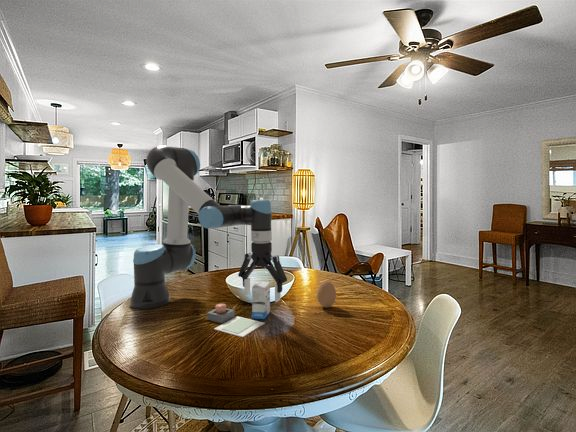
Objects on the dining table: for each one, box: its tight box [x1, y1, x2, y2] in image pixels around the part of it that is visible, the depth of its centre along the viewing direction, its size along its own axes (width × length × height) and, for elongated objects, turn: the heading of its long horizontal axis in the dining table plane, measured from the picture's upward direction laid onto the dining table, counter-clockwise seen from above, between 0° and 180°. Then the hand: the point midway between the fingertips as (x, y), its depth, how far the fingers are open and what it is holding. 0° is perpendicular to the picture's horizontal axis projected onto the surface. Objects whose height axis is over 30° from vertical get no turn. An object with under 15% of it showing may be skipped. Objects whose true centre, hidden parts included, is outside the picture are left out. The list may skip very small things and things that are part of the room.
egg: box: [316, 280, 337, 309], centre depth 132 cm, size 8×8×11 cm
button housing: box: [206, 307, 236, 324], centre depth 120 cm, size 7×7×2 cm
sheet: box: [213, 315, 266, 338], centre depth 113 cm, size 12×13×1 cm
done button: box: [215, 303, 227, 314], centre depth 120 cm, size 4×4×2 cm
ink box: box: [251, 281, 271, 320], centre depth 123 cm, size 9×5×12 cm, turn 168°
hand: (262, 298), depth 123 cm, fingers open, 13 cm apart
